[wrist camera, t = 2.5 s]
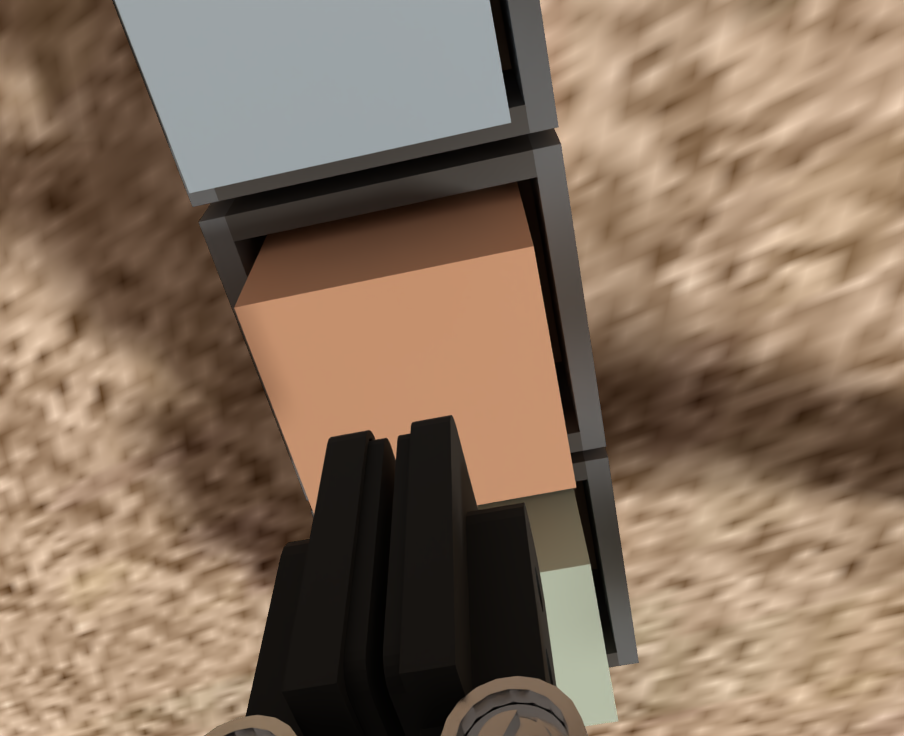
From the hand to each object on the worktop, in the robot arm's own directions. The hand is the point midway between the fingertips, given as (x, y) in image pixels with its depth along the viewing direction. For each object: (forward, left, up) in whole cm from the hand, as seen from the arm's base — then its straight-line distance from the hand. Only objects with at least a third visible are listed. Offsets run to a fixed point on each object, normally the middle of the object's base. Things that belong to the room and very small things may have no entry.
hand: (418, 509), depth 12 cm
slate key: (+5, +4, -8) cm, 10 cm away
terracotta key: (-1, 0, -8) cm, 8 cm away
